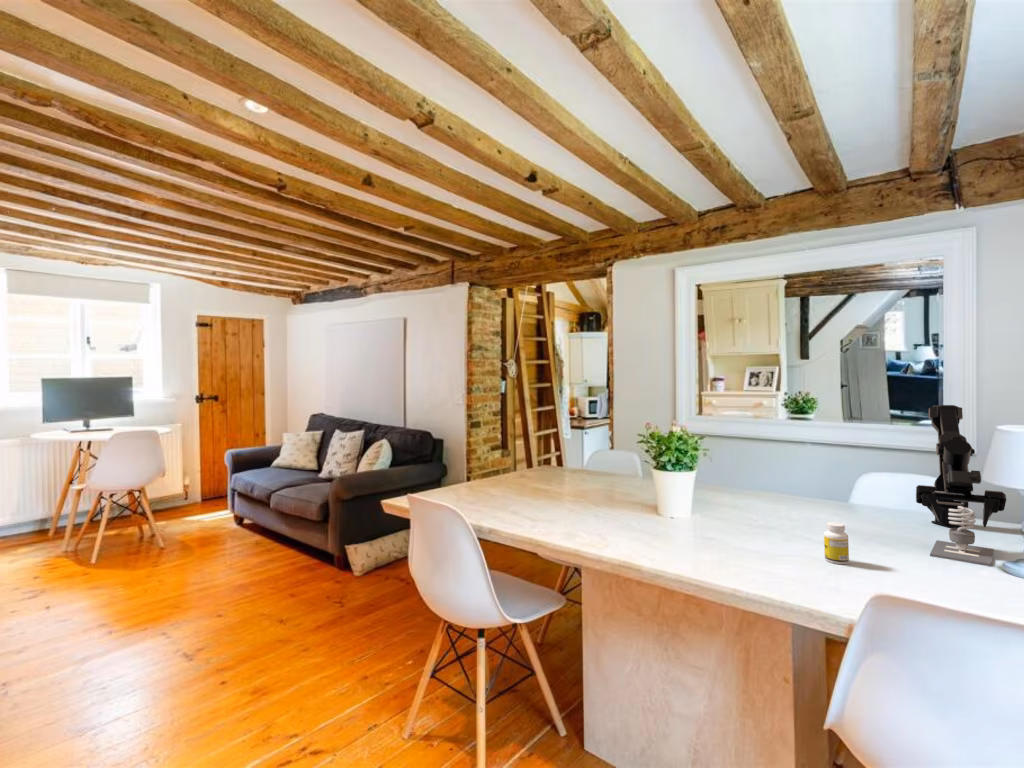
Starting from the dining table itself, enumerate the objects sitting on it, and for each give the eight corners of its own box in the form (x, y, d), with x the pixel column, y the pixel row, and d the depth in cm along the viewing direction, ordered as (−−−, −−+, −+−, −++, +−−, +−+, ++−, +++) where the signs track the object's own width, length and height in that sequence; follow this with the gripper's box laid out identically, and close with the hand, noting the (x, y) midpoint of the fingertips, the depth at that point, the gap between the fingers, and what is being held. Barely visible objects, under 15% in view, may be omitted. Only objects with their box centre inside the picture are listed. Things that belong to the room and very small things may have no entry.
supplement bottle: (826, 556, 139) (825, 520, 139) (850, 560, 136) (849, 523, 136) (822, 562, 135) (822, 524, 135) (847, 566, 132) (846, 527, 132)
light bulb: (972, 555, 136) (972, 509, 136) (945, 550, 141) (945, 506, 141) (978, 551, 140) (977, 506, 140) (951, 546, 144) (950, 503, 144)
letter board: (936, 542, 150) (936, 539, 150) (993, 551, 142) (993, 548, 142) (930, 555, 138) (930, 553, 138) (991, 566, 130) (991, 563, 130)
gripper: (915, 456, 149) (918, 502, 140) (1004, 461, 138) (1013, 511, 129) (914, 479, 155) (917, 525, 146) (999, 486, 145) (1007, 535, 136)
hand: (961, 523), depth 139 cm, fingers open, 9 cm apart
